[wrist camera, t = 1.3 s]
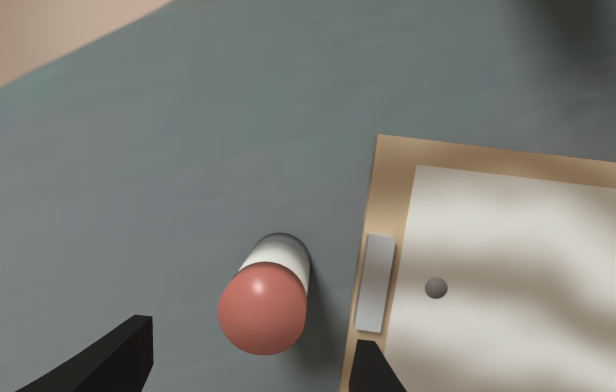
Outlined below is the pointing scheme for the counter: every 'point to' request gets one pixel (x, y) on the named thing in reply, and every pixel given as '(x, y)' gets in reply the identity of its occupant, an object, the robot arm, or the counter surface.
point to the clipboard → (487, 269)
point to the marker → (267, 296)
